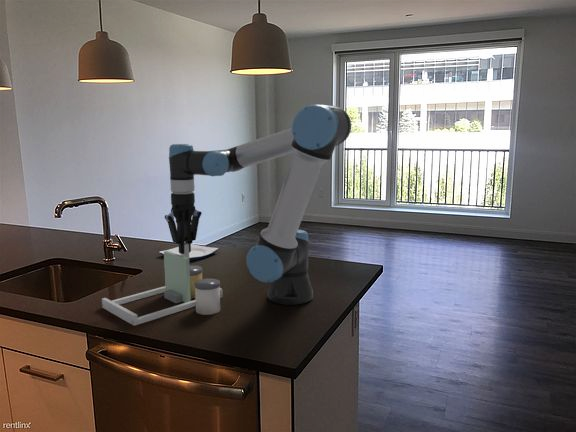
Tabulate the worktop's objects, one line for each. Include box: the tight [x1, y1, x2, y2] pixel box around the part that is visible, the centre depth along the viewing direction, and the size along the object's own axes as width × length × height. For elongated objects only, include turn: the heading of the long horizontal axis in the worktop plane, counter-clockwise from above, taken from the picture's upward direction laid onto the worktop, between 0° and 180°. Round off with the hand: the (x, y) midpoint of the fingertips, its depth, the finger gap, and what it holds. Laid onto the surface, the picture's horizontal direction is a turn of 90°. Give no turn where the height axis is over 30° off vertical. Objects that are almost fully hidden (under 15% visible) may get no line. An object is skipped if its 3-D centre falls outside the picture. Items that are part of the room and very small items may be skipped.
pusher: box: [163, 250, 192, 304], centre depth 157 cm, size 13×4×15 cm, turn 46°
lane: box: [101, 285, 224, 326], centre depth 155 cm, size 20×32×3 cm, turn 136°
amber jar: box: [189, 265, 203, 300], centre depth 162 cm, size 8×8×9 cm
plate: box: [158, 243, 220, 262], centre depth 212 cm, size 20×20×3 cm
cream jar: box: [194, 278, 221, 316], centre depth 148 cm, size 8×8×9 cm
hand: (185, 262), depth 160 cm, fingers closed
